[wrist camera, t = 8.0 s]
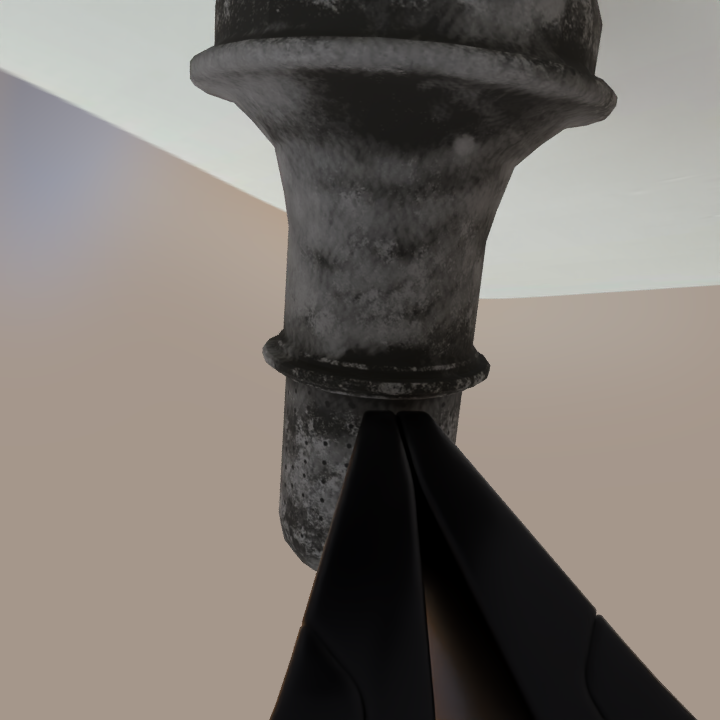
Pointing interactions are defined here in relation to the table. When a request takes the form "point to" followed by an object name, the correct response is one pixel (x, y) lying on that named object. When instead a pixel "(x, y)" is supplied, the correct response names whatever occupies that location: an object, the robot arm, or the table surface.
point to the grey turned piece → (390, 195)
